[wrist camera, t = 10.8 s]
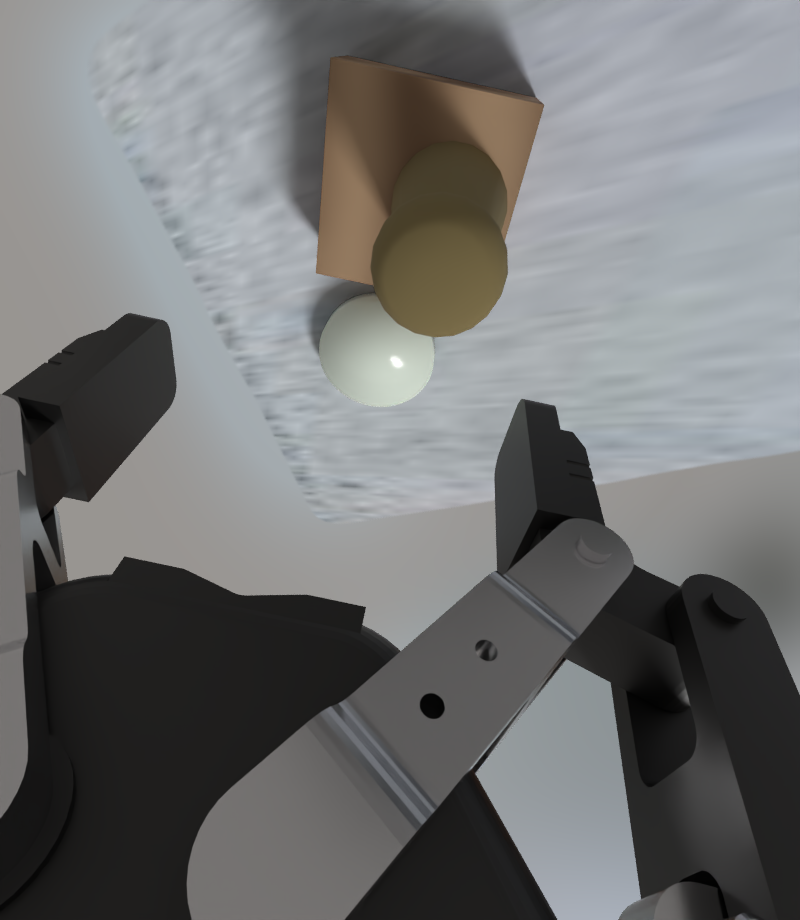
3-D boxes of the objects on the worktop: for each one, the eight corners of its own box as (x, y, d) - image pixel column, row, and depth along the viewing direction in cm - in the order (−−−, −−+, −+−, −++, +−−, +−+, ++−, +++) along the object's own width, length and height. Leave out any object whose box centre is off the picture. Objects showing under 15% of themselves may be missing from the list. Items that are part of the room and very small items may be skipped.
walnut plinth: (536, 97, 27) (544, 105, 24) (483, 284, 33) (484, 309, 30) (347, 55, 27) (330, 57, 24) (331, 251, 33) (315, 273, 30)
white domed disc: (447, 305, 35) (445, 316, 33) (422, 403, 40) (420, 416, 38) (330, 279, 35) (323, 289, 33) (320, 381, 40) (314, 393, 38)
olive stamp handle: (377, 243, 28) (334, 329, 20) (413, 120, 25) (380, 160, 16) (478, 282, 29) (479, 381, 21) (529, 168, 25) (555, 232, 17)
